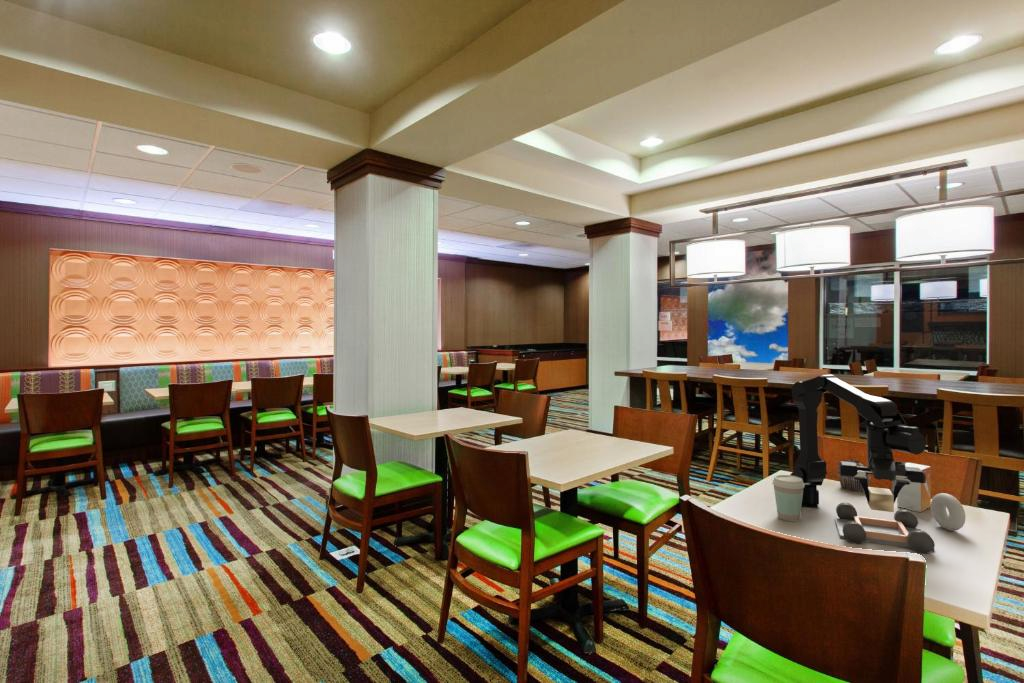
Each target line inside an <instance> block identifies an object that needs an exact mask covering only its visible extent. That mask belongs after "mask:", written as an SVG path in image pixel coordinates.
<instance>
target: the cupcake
mask: <svg viewBox="0 0 1024 683" xmlns="http://www.w3.org/2000/svg"><path fill="white" fill-rule="evenodd" d="M841 461H844V462H855V463H856V465H857V466H863V467H865V466H864V464H862V463H860V461H859V460H853V458H849V459H848V460H845V459H843V460H841ZM837 468H838V471H837V475H838V479H839V485H840V488H842V489H843V488H844V489H843V490H845V489H847V490H846V491H849V490H850V491H849V492H855V491H856V492H857V493H864V491H863V488H862V485H861V483H860V481H859V480H856V479H854V477H853V476H843V475H840V473H839V467H837ZM865 476H866V478H867V480H868V487H870V482H871V478H872V477H871V475H870V474H866V475H865Z"/></svg>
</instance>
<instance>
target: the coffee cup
mask: <svg viewBox="0 0 1024 683" xmlns="http://www.w3.org/2000/svg"><path fill="white" fill-rule="evenodd" d="M772 485H773V490H774V499H775V505H776V506H775V507H776V512H777V513H776V514H777V517H778V518H779V519H780V518H781V519H780V520H782V519H783V521H786V520H787V522H798V520H799V521H800V520H801V513H802V507H803V506H802V498H803V489H804V487H805V486H804V483H803V480H802V479H801V478H799V477H796V476H791V475H790V474H777V475H774V477H773V479H772Z"/></svg>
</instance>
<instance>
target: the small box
mask: <svg viewBox="0 0 1024 683" xmlns="http://www.w3.org/2000/svg"><path fill="white" fill-rule="evenodd" d="M904 463H905V467H915V468H919V469H920V470H922V471H923V472H924V473H925V476H926V483H916V482H911V481H909V482H910V485H905V486H903V487H902V489H901V490H900V492H899V494H898V496H897V498H896V502H897V504H896V505H897V506H896V507H897V508H900V507H901V508H900V509H904V508H905V509H906V510H908V509H909V511H912V512H918V513H922V512H924V511H926V510H928V509H930V508H931V501H932V499H931V496H932V493H931V490H932V489H931V487H932V486H931V484H932V478H931V477H932V476H931V475H932V471H931V470H932V469H931V468H932V466H929V465H926V464H919V463H915V462H914V463H913V462H904ZM929 507H930V508H929ZM927 508H928V509H927Z"/></svg>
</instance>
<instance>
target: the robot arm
mask: <svg viewBox="0 0 1024 683" xmlns="http://www.w3.org/2000/svg"><path fill="white" fill-rule="evenodd" d="M790 391H791V395H792V396H791V397H792V401H793V403H794V404H795V406H796V407H797V408H798V426H799V429H798V430H799V452H800V453H799V455H798V457H797V458H796V459H795V463H794V470H793V471H792V472H791V473H790V474H789V475H791V476H796V477H799V478H801V479H802V480H803V483H804V486H805V487H804V489H803V498H802V506H801V507H808V508H817V509H818V507H819V506H818V505H820V495H819V494H820V491H819V489H818V487H817V486H821V487H822V486H823V483H824V480H825V479H826V475H827V474H828V471H827V462H826V460H822V458H821V457H820V455H819V443H818V440H819V439H818V438H819V437H818V414H817V412H818V411H817V410H818V408H819V406H820V405H821V403H822V399H823V394H825V393H828V392H829V393H830V394H832V395H834V396H835V397H837V398H838V399H841V400H842V401H844V402H846V403H847V404H848V405H849V404H850V405H851V406H853V407H854V408H855V409H856V411H857V413H858V415H860V416H861V417H862V418H863V419H865V420H864V421H863V422H861V423H860V424H859V427H860V428H865V429H866V449H867V450H866V463H867V464H866V466H864V465H863V466H864V467H863V466H857V465H856V463H855V461H854V462H844V461H842V460H840V461H839V462H838V465H837V466H838V467H839V473H840V475H843V476H853V477H854V479H856V480H859V481H860V483H861V485H862V488H863V491H864V492H863V493H864V496H865V499H866V501H868V502H869V500H870V496H869V490H868V480H867V478H866V476H865V475H866V474H868V475H872V477H873V478H874V479H875V480H884V481H885V480H888V481H890V482H891V489H890V491H891V492H892V494H893V495H894V504H895V502H897V496H898V494H899V492H900V490H901V489H902V487H903V486H905V485H910V482H909V481H911V482H916V483H926V476H925V473H924V472H923V471H922V470H920V469H919V468H915V467H905V463H906V462H904V461H895V460H894V450H895V451H898V452H902V453H907V454H910V455H911V454H912V455H915V456H916V455H917V456H918V455H921V454H922V453H923V452H924V451H925V448H926V446H927V445H926V444H927V440H926V438H925V436H924V435H923V433H921V432H920V428H919V427H917V426H909V425H908V423H907V421H906V420H905V419H904V417H903V416H902V414H901V412H900V411H899V410H898V408H897V404H896V403H895V402H894V401H892V400H890V399H887V398H884V397H881V396H876V395H872V394H871V395H870V394H868V393H865V392H863V391H862V390H860V389H858V388H856V387H855V386H852V385H851V384H849V383H847V382H845V381H844V380H841V379H839V378H838V377H837V376H836V375H834V374H821V375H818V376H816V377H814V378H810V379H807V380H804V381H796V382H794V383H793V385H792V386H791V390H790ZM838 467H837V468H838Z"/></svg>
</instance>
